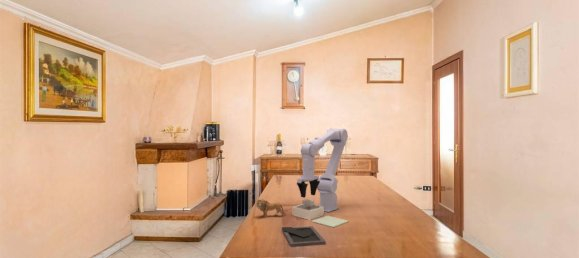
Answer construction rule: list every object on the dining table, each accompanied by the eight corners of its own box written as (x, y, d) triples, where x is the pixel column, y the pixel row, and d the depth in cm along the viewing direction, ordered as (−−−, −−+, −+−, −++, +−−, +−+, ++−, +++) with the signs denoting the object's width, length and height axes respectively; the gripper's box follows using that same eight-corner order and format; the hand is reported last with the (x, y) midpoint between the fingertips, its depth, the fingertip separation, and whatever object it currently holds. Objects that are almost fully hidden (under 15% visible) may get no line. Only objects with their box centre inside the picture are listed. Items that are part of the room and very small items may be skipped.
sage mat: (327, 216, 155) (327, 215, 155) (348, 221, 146) (348, 220, 146) (311, 221, 146) (311, 220, 146) (333, 227, 138) (333, 226, 138)
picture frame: (281, 231, 133) (290, 248, 116) (281, 227, 133) (290, 242, 116) (312, 229, 136) (325, 245, 119) (312, 225, 136) (325, 240, 118)
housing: (306, 211, 164) (306, 202, 164) (323, 215, 157) (324, 206, 157) (292, 215, 156) (292, 206, 156) (309, 220, 149) (309, 211, 149)
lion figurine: (257, 219, 149) (257, 200, 149) (255, 216, 155) (255, 197, 154) (287, 216, 154) (287, 198, 154) (284, 213, 159) (284, 195, 159)
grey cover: (307, 205, 163) (307, 197, 163) (321, 209, 157) (321, 200, 157) (295, 209, 156) (295, 200, 156) (309, 212, 150) (309, 203, 150)
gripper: (311, 166, 164) (311, 192, 164) (292, 168, 154) (292, 196, 154) (322, 167, 160) (322, 195, 160) (304, 170, 149) (303, 199, 149)
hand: (308, 196), depth 156 cm, fingers open, 7 cm apart
